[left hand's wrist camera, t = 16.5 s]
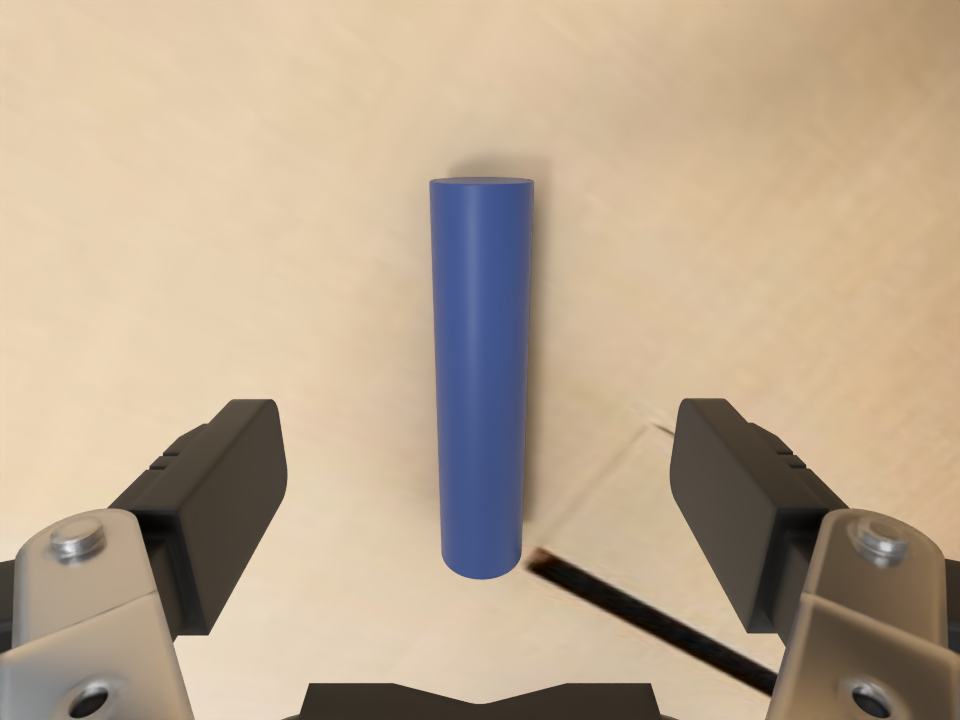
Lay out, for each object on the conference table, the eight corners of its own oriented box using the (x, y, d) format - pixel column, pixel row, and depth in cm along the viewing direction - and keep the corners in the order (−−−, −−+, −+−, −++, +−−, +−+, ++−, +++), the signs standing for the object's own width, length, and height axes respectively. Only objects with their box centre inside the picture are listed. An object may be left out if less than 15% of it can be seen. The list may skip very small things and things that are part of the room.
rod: (433, 177, 33) (424, 184, 28) (529, 177, 33) (539, 184, 28) (444, 524, 42) (438, 580, 37) (518, 524, 42) (524, 580, 37)
